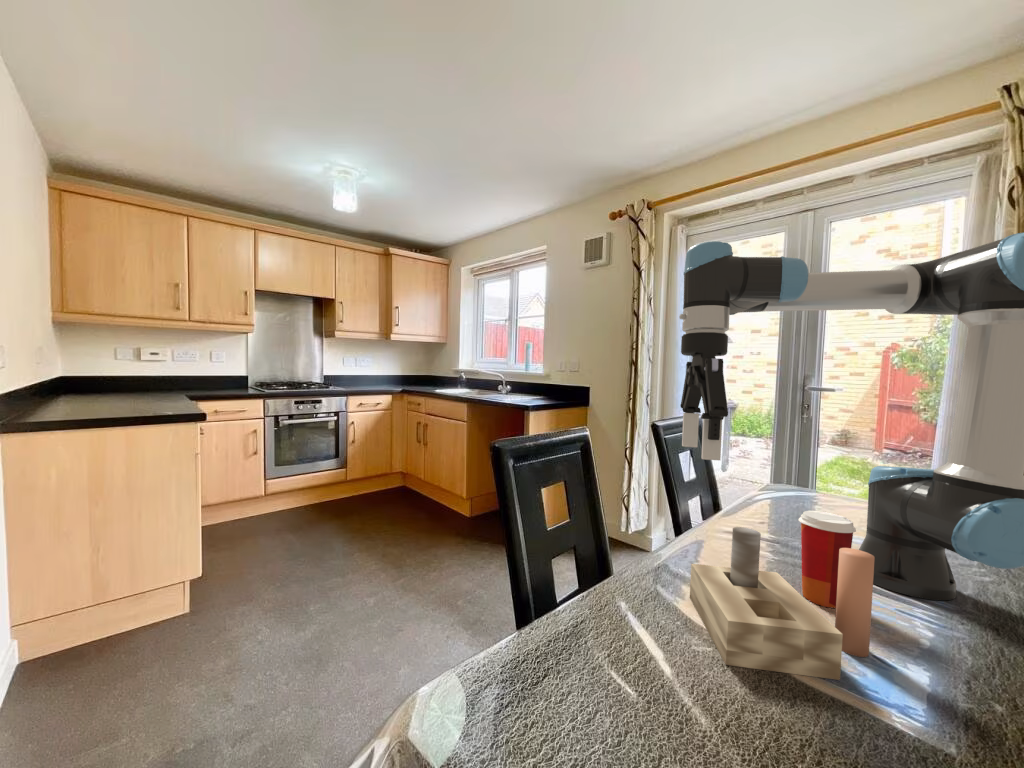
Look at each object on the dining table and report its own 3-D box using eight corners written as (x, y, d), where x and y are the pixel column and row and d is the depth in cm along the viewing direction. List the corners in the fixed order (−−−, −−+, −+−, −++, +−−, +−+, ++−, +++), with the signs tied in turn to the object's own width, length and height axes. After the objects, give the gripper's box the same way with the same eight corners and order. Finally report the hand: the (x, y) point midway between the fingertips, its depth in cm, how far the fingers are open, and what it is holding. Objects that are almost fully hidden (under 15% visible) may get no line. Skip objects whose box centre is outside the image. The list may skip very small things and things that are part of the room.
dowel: (857, 641, 64) (862, 549, 64) (875, 658, 60) (881, 560, 60) (828, 638, 65) (833, 546, 64) (844, 655, 61) (850, 557, 60)
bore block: (775, 607, 73) (779, 526, 73) (840, 680, 55) (846, 573, 55) (689, 597, 75) (693, 518, 75) (725, 664, 57) (731, 561, 57)
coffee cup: (840, 593, 79) (845, 513, 79) (860, 616, 71) (865, 527, 71) (788, 584, 82) (792, 507, 82) (802, 605, 74) (806, 519, 74)
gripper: (668, 339, 88) (663, 441, 89) (701, 323, 64) (695, 464, 64) (706, 340, 87) (701, 443, 87) (755, 324, 62) (749, 468, 63)
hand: (699, 452), depth 76 cm, fingers open, 13 cm apart
